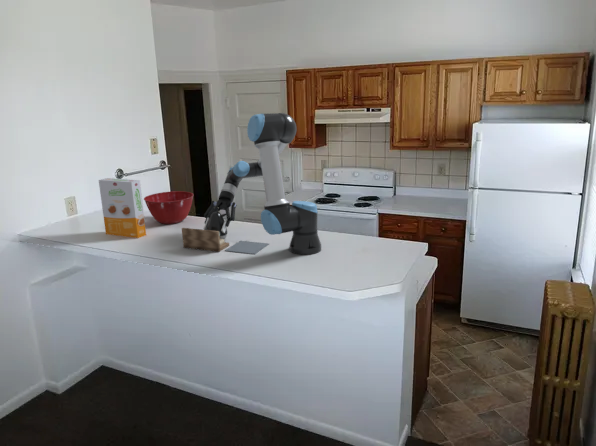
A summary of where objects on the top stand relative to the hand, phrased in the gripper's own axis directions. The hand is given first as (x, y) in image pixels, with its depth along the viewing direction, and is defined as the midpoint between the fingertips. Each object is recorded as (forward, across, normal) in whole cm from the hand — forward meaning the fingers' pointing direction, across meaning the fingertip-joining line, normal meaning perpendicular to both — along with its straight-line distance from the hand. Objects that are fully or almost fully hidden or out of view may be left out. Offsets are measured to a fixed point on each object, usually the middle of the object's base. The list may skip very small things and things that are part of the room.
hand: (214, 230), depth 234 cm
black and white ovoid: (+2, 0, -6) cm, 7 cm away
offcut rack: (+10, 0, +1) cm, 10 cm away
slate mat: (+6, -20, -2) cm, 21 cm away
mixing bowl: (-15, +47, -24) cm, 55 cm away
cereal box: (+7, +54, -2) cm, 54 cm away
